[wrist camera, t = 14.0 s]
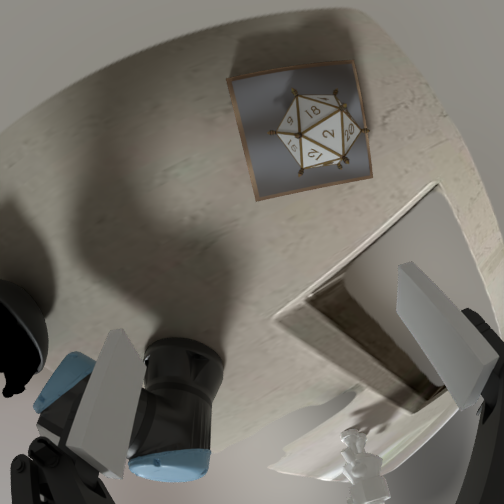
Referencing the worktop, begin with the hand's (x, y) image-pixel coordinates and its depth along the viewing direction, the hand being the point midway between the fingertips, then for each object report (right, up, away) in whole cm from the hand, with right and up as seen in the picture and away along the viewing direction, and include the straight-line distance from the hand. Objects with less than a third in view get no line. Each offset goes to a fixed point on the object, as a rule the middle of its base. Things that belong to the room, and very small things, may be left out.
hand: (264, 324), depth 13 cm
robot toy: (+29, -50, +58) cm, 81 cm away
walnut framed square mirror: (+5, +19, +21) cm, 29 cm away
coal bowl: (-45, -7, +32) cm, 56 cm away
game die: (+5, +16, +16) cm, 24 cm away
